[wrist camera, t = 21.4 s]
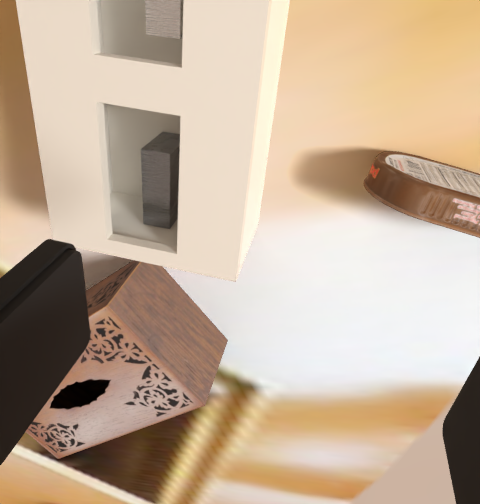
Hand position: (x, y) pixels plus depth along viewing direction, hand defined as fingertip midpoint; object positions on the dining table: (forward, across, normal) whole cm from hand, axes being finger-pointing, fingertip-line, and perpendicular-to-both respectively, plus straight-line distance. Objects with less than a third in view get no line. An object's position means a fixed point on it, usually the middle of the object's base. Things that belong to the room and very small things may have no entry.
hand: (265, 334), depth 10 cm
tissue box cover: (+31, +20, +34) cm, 50 cm away
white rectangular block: (+30, +12, 0) cm, 33 cm away
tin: (+31, -12, +6) cm, 33 cm away
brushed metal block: (+27, +12, +13) cm, 32 cm away
